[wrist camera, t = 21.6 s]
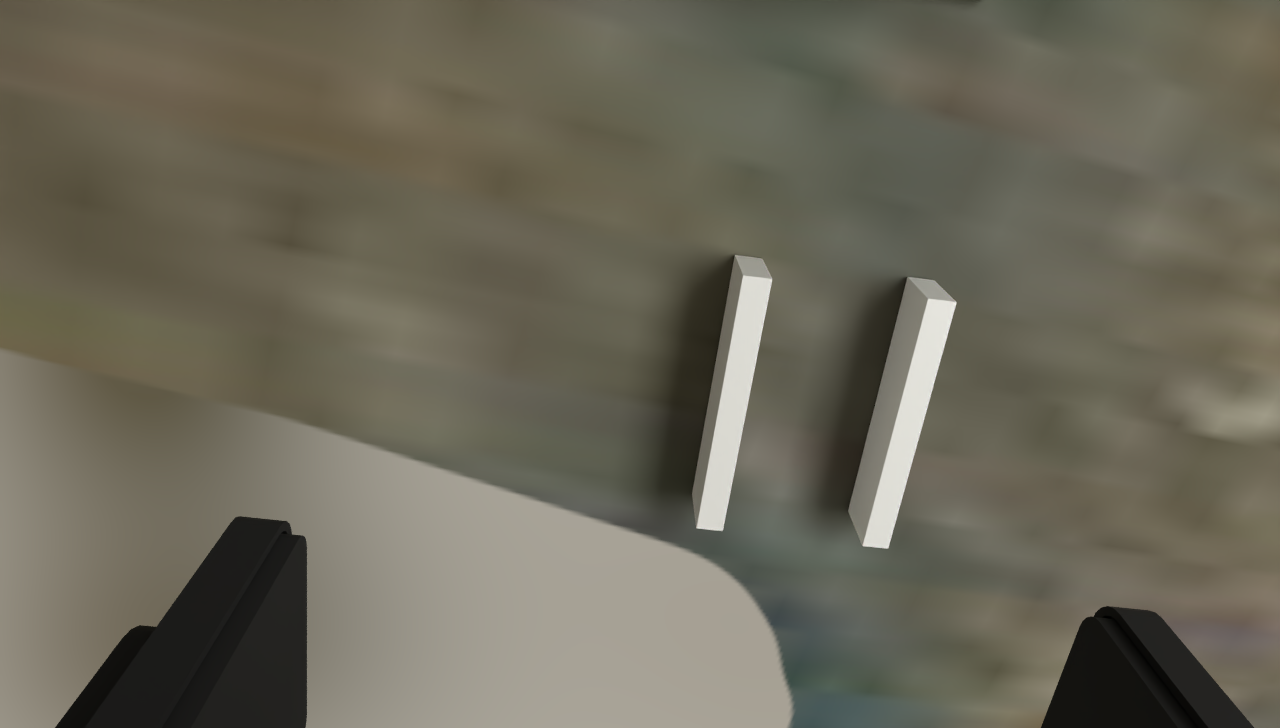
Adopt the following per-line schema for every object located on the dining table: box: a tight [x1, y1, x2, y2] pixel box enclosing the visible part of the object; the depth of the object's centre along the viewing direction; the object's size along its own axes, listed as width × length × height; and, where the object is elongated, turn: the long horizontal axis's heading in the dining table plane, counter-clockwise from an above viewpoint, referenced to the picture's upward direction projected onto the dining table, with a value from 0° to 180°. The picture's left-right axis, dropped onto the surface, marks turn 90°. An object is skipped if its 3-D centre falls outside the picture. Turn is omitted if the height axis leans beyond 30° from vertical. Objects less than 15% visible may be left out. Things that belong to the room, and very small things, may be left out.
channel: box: [692, 255, 956, 549], centre depth 42 cm, size 9×12×3 cm
